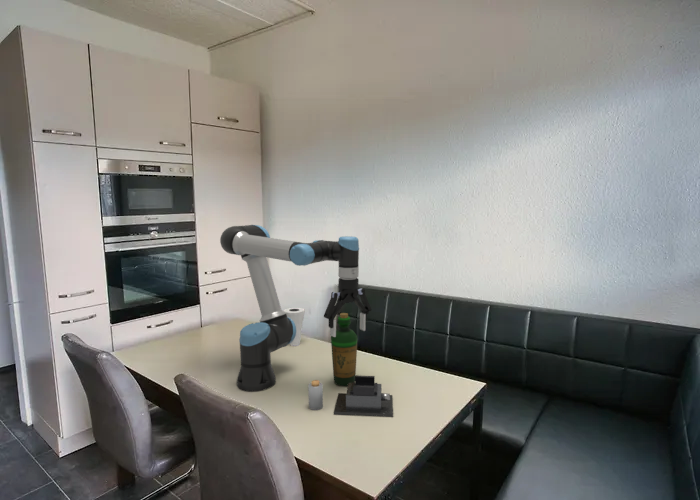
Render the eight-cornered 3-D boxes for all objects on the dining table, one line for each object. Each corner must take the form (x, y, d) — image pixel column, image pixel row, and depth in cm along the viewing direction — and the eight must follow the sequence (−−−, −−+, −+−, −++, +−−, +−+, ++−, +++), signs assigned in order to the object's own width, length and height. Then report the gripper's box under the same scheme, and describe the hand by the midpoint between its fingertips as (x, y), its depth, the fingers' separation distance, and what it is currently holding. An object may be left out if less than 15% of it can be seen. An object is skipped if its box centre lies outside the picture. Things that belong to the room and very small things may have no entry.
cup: (304, 348, 205) (303, 312, 203) (282, 348, 205) (281, 312, 203) (306, 341, 215) (306, 307, 213) (286, 341, 215) (285, 307, 213)
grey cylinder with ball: (307, 409, 142) (307, 384, 141) (310, 403, 147) (309, 378, 146) (321, 410, 142) (321, 385, 141) (323, 403, 147) (323, 378, 146)
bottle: (338, 390, 157) (337, 319, 154) (326, 379, 167) (326, 312, 164) (362, 384, 162) (362, 315, 159) (350, 374, 172) (349, 309, 169)
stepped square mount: (333, 414, 139) (333, 389, 138) (338, 395, 153) (338, 372, 152) (392, 416, 137) (393, 391, 136) (392, 397, 151) (392, 374, 150)
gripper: (325, 282, 143) (325, 341, 146) (380, 276, 157) (379, 329, 160) (314, 279, 149) (314, 336, 152) (368, 273, 163) (368, 325, 166)
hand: (348, 332), depth 156 cm, fingers open, 13 cm apart
